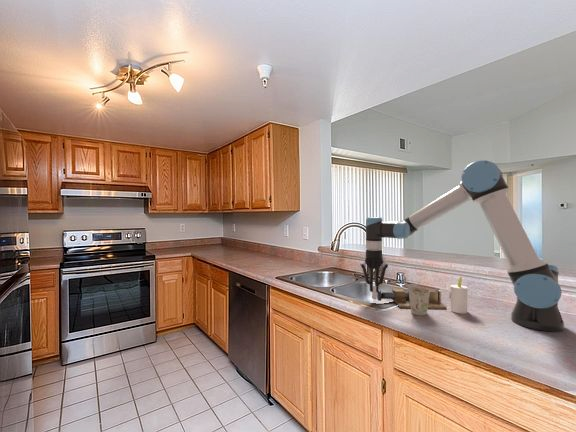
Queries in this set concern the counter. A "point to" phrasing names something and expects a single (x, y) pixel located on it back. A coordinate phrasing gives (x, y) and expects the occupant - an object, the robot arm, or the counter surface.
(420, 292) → the mug
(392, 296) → the pin
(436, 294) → the brown board
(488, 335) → the counter surface
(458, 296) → the candle
